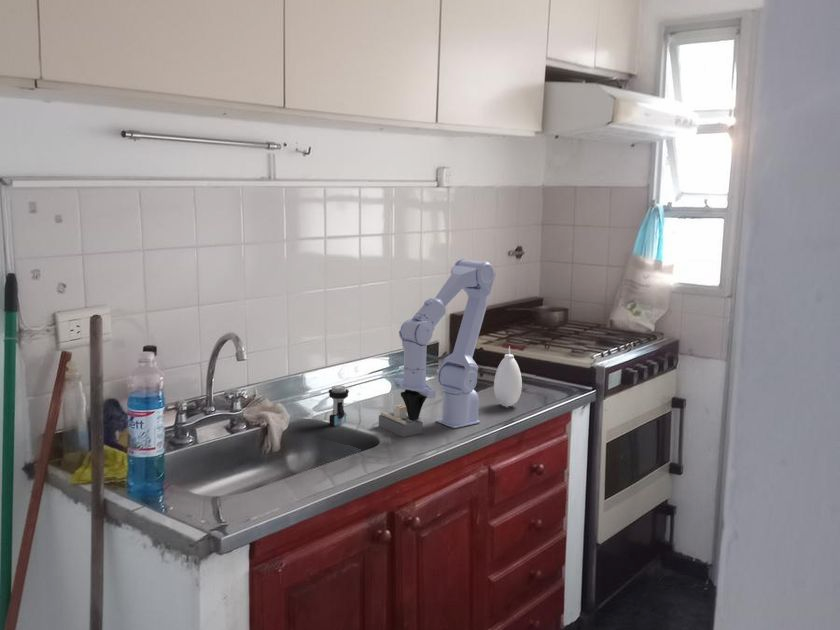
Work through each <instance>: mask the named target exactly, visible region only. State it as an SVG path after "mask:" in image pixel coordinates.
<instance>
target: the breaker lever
mask: <svg viewBox="0 0 840 630" xmlns="http://www.w3.org/2000/svg"><path fill="white" fill-rule="evenodd" d="M393 407H394V408H393V412H394V417H396V418H399V419H404V418H407V409H406V405H405V404H397V405H394V406H393Z"/></svg>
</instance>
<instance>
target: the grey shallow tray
mask: <svg viewBox="0 0 840 630" xmlns="http://www.w3.org/2000/svg"><path fill="white" fill-rule="evenodd" d="M423 425H424V424H423V421H422V418H421V417H419V418H418V420H413V421H412V420H409V417H408V413H407V418H404V419H399V418H396V417H394V411H393V412H389V413H387V412H384V411H381V412H380V414H379V415H378V427H380V428H382V429H385V430H387V431H389V432H391V433H394V434H395V435H397V436H400V437H402V438H407V437H411V436H416V435H420V434H423Z"/></svg>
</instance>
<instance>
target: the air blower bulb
mask: <svg viewBox="0 0 840 630" xmlns="http://www.w3.org/2000/svg"><path fill="white" fill-rule="evenodd" d="M521 374H522V373H521V369H520V367H519V364H518V362H517V360H516V359H515V357H514V354H511V346H510V345H509V346H508V353H505V354H504V357H503V358H502V360H501V361H500V363H499V365H498V366H497V368H496V371H495V376H494V380H493V381H494V382H493V391H494V396H495V398H496V401H497V402H498V403H500V405H501V406H503V407H504V406H510V407H512V406H514V404H516V403H518V401H519V399H520V397H521V394H522V389H523V388H522V387H523V386H522V385H523V382H522V381H523V379H522V375H521Z"/></svg>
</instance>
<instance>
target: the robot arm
mask: <svg viewBox="0 0 840 630" xmlns="http://www.w3.org/2000/svg"><path fill="white" fill-rule="evenodd" d="M495 278H496V273H495V270H494V268H493V264H492V263H490V262H488V261H479V260H470V259H469V260H468V259H465V258H459V259H458V260H456V261H455V263H454V265H453V266H452V267H451V270H450V276H449V277H448V279H447V280H446V282H445V283H444V284H443V286H442V287H441V288H440V290H439V292H438V293H437V294H436V296H435V297H434V298H428V299H426V300H425V301H424V302H423V305H422V306H421V307H420V308H419V309H418V311H417V312H416V313H415V314H414V315H413V316H412V318H409V319H407V320H405V321H404V322H403V323H402V325H401V326H400V330H399V331H398V334H399V338H400V340H401V345H402V348H403V371H402V373H403V375H402V377H403V378H402V377H399V378H397V377H396V378H394V381H393V382H394V383H393V384H394V385H393V386H394V387H396V388H397V387H398V388H399V389H401V390H404V391H401V392H400V396H401V398H402V400H403V402H404V405H406V409H407V413H408V417H409V420H412V421H413V420H418V418H420V413H421V410H422V408H423V405H424V403H425V401H426V400H427V399H429V400H430V399H434V398H436V389H433V388H432V387H431V386H429V385H428V384H427V383H426V382H427V349H428V348H427V346H428V343H429V342H430V341H431V339H432V338H433V333H434V331H435V327H436V326H437V325H438V323H439V322H440V321H441V320H442V318H443V317H444V316H445V315H446V312H447V311H446V310H447V309H446V307H447V306H448V304H449V303H450V302H451V301H452V300H453V299H454V298H456V296H457V295H458V294H459V293H460V292H461V291H462V290H463V291H464V292H466V293H465V294H466V295H467V301H466V305H465V308H464V311H463V315H462V319H461V323H460V327H459V329H458V332H457V333H458V334H457V337H456V341H455V344H454V347H453V351H452V353H450V354H449V355H446V357H444V358H443V362H442V363H441V364H442V365H441V366H440V367H439V368H438V371H437V376H436V378H437V383H438V384H439V386H440V387H441V389H440V390H442V395H443V396H442V417H441V418H436V419H435V422H437V423H439V424H441V425H445V426H447V427H450V428H452V429H458V428H463V427H467V426H470V425H475V424H479V423H481V420H479V403H480V399H479V395H478V393H477V391H476V390H475V388H476V386H477V383H478V372H479V371H478V370H479V366H478V364H477V363H476V361H475V360H474V359H473V357H474V353H475V350H476V346H477V342H478V339H479V337H480V336H479V335H480V332H481V328H482V325H483V322H484V317H485V314H486V312H487V306H488V303H489V299H490V295H491V292H492V288H493V285H494V281H495Z"/></svg>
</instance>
